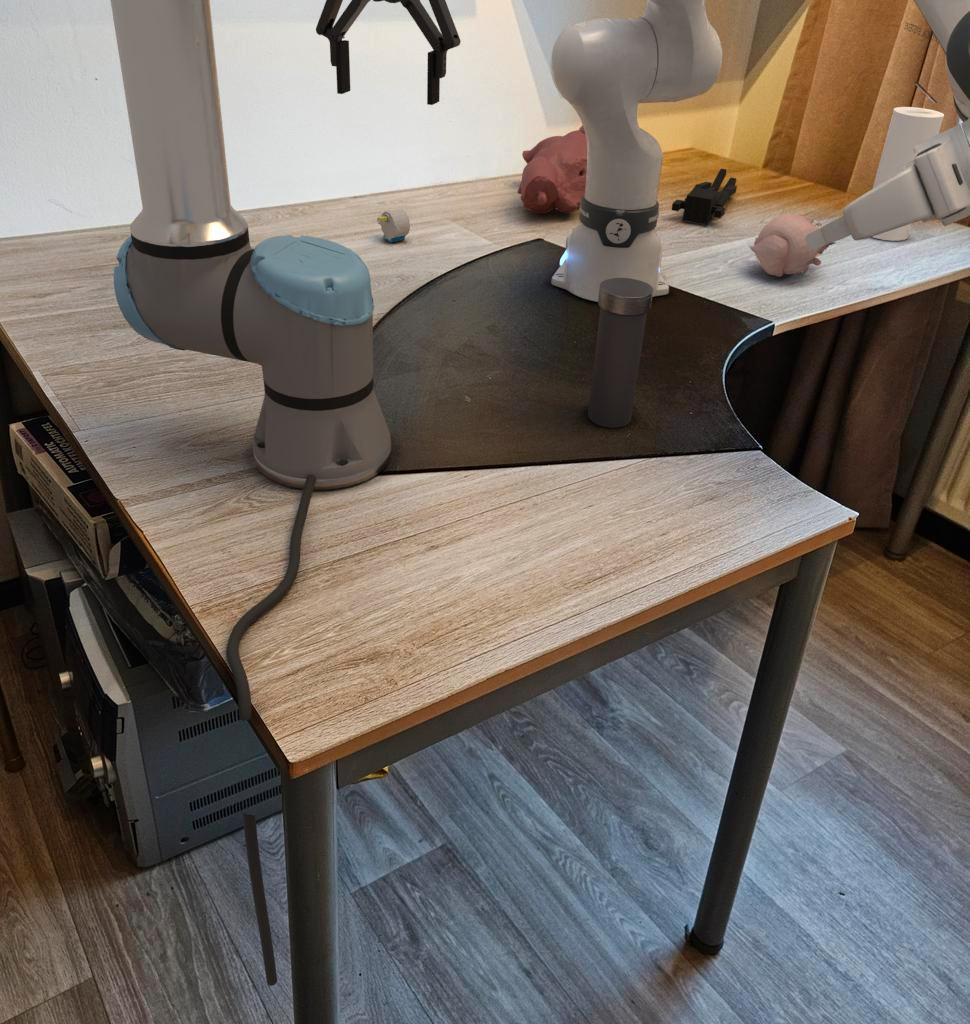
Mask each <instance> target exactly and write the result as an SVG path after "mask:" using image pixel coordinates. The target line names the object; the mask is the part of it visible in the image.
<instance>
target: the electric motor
mask: <svg viewBox="0 0 970 1024" xmlns="http://www.w3.org/2000/svg"><path fill="white" fill-rule="evenodd" d="M376 222H377V224H378V225H380V227H381V231H382V233H383V238H384V240H385V241H388V242H389V243H394V242H395V243H396V242H399V241H404V240H405V238H406V236H407V235H409V233H410V229H411V222H410V218H409V216H408V213H407V212H406V210H404V209H403V208H397V209H392V210H387V211H384V212H383V213H382V214H381V216H378V217H377V218H376Z"/></svg>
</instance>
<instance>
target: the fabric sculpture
mask: <svg viewBox="0 0 970 1024" xmlns="http://www.w3.org/2000/svg"><path fill="white" fill-rule="evenodd" d="M521 156H522V158H523V160H524V162H525V163H526V164H525V166H524V168H523V170H522V172H521V173H522V174H521V180H520V181H521V182H520V185H519V186H518V189H517V194H518V195H520V200H521V202H522V203H523V207H524V209H525V210H529V211H530V212H532V213H535V214H546V213H549V212H551V211H552V210H553V209H554V208H555V209H556V210H557V211H559V212H560V213H564V214H569V213H573V212H575V211H578V210H579V209H580V204H581V199H582V196H583V195H584V194H585V185H586V172H587V140H586V135H585V131H584V127H583V124H581V126H580V127H579V129H576V130H573V131H570V132H568V133H566V134H565V135H554V136H549V137H546V138H544V139H542V140H540V141H539V142H538V143H536V145H535V146H534V147H532V148H531V149H529V150H523V151H522V153H521Z"/></svg>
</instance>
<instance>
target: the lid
mask: <svg viewBox="0 0 970 1024" xmlns="http://www.w3.org/2000/svg"><path fill="white" fill-rule="evenodd" d="M653 291H654V290H653V287H652V286H651V285H649V284H648V283H645V282H643V281H640V280H636V279H630V278H612V279H607V280H604V281H603V282H601V284H600V289H599V297H598V302H597V304H598V306H599V308H602V309H604V310H606V311H608V312H611V313H615V314H620V315H640V314H644V313H647V314H648V312H650V311H651V310H652V303H653V298H654V297H653Z"/></svg>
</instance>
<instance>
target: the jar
mask: <svg viewBox="0 0 970 1024" xmlns="http://www.w3.org/2000/svg"><path fill="white" fill-rule="evenodd" d="M599 308H600V309H599V317H598V327H597V332H596V333H597V334H596V343H595V352H594V360H593V367H592V368H593V369H592V376H591V386H590V394H589V401H588V411H587V417H588V419H589V420H590V421H591V422H592V423H593V424H595V425H596V426H599V427H604V428H610V429H611V428H612V429H617V428H622V427H623V428H624V427H626V426H628V425H629V424H630V423H631V422H632V417H633V412H634V411H633V409H634V405H635V404H634V403H635V396H636V390H637V384H638V383H637V382H638V376H639V371H640V370H639V369H640V363H641V356H642V351H643V342H644V336H645V330H646V322H647V316H648V312H647V313H644V314H640V315H620V314H615V313H611V312H608V311H606V310H604V309H602V308H601V307H599Z"/></svg>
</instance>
